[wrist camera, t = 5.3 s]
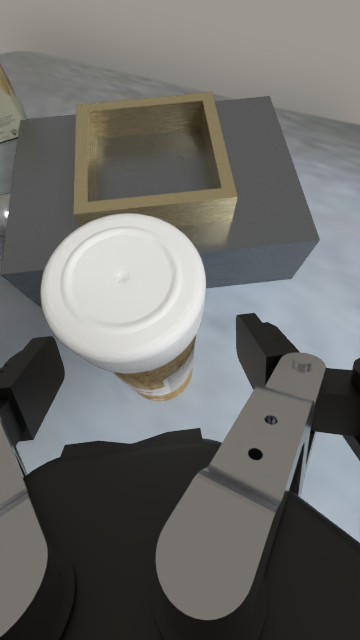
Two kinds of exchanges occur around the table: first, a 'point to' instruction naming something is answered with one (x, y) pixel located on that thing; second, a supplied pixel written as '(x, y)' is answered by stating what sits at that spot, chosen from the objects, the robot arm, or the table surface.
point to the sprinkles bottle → (128, 300)
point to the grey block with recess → (161, 184)
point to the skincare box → (9, 109)
